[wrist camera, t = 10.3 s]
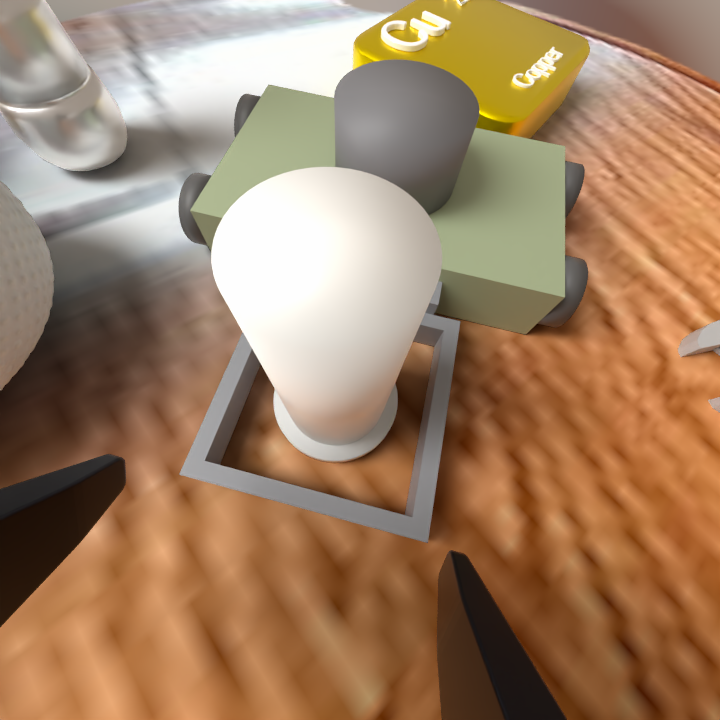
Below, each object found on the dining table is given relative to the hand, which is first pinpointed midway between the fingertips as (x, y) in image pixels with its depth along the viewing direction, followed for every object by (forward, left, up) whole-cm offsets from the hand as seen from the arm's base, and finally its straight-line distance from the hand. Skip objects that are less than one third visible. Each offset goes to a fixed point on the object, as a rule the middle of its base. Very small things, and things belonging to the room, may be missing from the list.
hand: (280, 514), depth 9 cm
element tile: (+29, +21, -8) cm, 37 cm away
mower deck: (+9, +8, -8) cm, 15 cm away
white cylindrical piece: (+4, +4, -8) cm, 10 cm away
